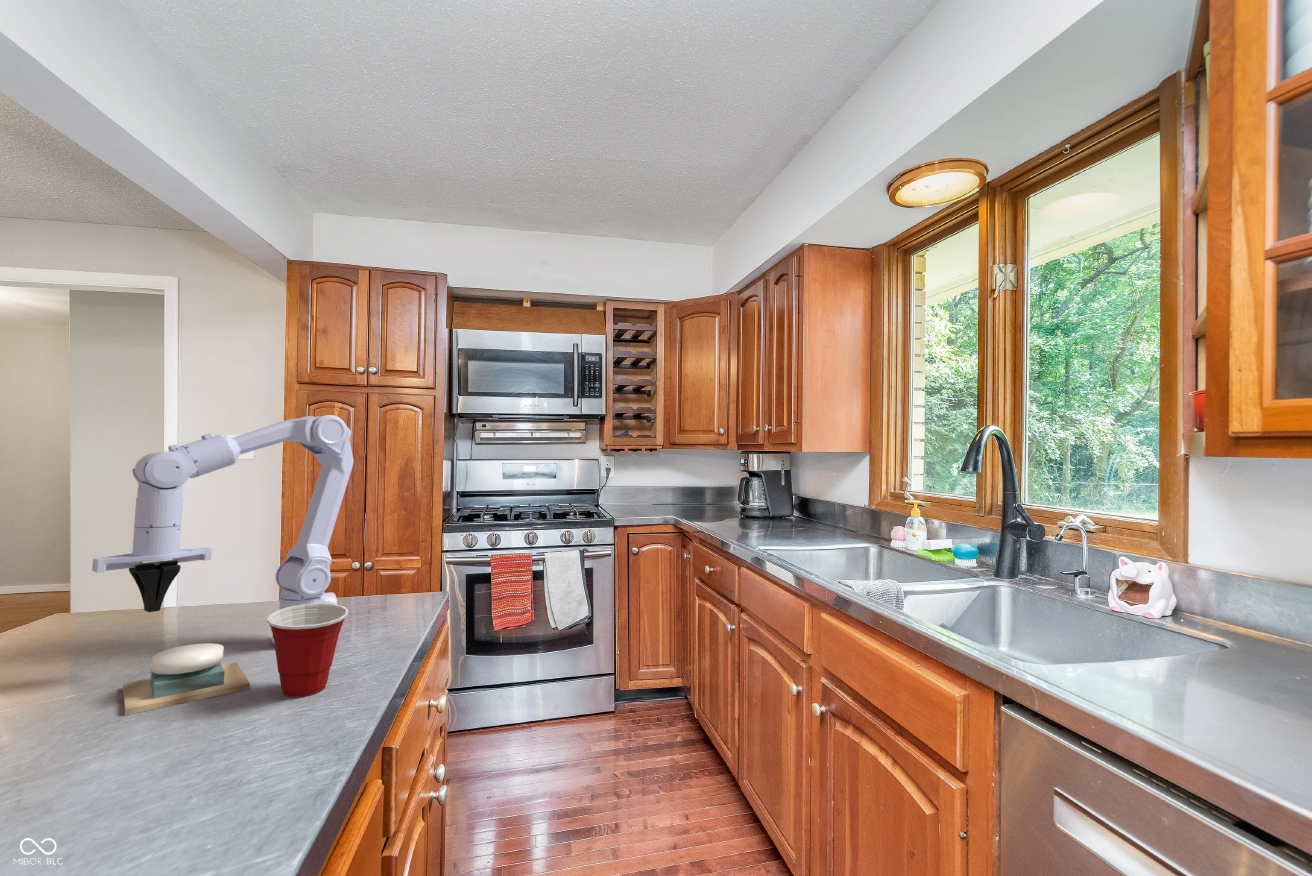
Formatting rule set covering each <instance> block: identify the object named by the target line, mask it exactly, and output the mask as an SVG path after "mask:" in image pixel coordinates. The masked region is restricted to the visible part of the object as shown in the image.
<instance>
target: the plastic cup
mask: <svg viewBox="0 0 1312 876" xmlns="http://www.w3.org/2000/svg"><path fill="white" fill-rule="evenodd" d="M348 615H349V609H348V608H347V607H345V606H343V605H340V604H337V605H336V604H325V603H316V604H303V605H297V606H290V607H287V608H283V609H280V610H279V609H277V610H275V611H273V612H272V613H270V614H268V616H267V618H266V622H267V623H268V624H269V627H270V631H271V633H272V638H274V643H273V645H274V644H275V645H274V649H275V650H274V651H275V656H276V657H275V658H276V664H277V673H278V675H279V682H280V690H281V693H282V695H283V696H284V697H287V698H288V697H289V698H301V697H307V696H311V695H316V694H318V693H320V692H322V691H324V690H325V689H326V687H327V686H326V685H327V684H328V680H329V675H330V670H331V667H332V665H333V660H334V657H335V652H336V649H337V648H336V647H337V644H338V639H339V635H340V633H341V631H342V626H343V625H344V621H345V619H346V618H347V617H348Z"/></svg>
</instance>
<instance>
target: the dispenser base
mask: <svg viewBox="0 0 1312 876" xmlns="http://www.w3.org/2000/svg"><path fill="white" fill-rule="evenodd" d="M250 689H251V682H250V681H249V679H248V678H247V676H246V675H245V673H244V672H243V669H242V668H241V667H240V665H239V664H238V662H231V663H225V664H221V662H220V663H218V664H216V665H214V666H212V667H209V668H206V669H202V670H198V671H193V672H188V673H181V674H156V673H153V672H152V668H151V669H150V678H149V677H148V678H143V679H139V680H133V681H129V682H127V681H126V682H123V683H122V697H123V708H124V716H128V715H134V714H137V713H141V712H147V711H153V710H156V709H157V710H158V709H161V708H166V707H169V706H174V705H179V704H180V705H181V704H184V703H189V702H193V701H194V702H195V701H199V700H205V699H209V698H212V697H216V696H217V697H218V696H222V695H227V694H230V693H236V692H240V691H245V690H250Z"/></svg>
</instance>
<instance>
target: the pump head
mask: <svg viewBox="0 0 1312 876" xmlns="http://www.w3.org/2000/svg"><path fill="white" fill-rule="evenodd" d="M224 650H225V649H224V646H223V645H222V644H219V643H210V642H209V643H195V644H187V645H181V646H175V647H171V648H168V649H165V650H162V651H158V652H157V653H156V654H153V656H152V658H151V659H152V660H151V669H152V672H153V673H156V674H181V673H188V672H193V671H198V670H202V669H206V668H209V667H212V666H214V665H216V664H218V663H220V664H221V662H223V660H224Z"/></svg>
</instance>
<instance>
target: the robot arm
mask: <svg viewBox="0 0 1312 876" xmlns="http://www.w3.org/2000/svg"><path fill="white" fill-rule="evenodd" d="M351 436H352V431H351V429H350V428H349V427H348V426H347V424H346V423H345V421H344V420H343V419H342V418H341V417H339V416H337V415H333V414H326V415H321V416H320V415H318V416H312V415H307V416H303V417H301V418H300V417H298V418H292V419H286V420H282V421H278V422H275V423H273V424H269V425H267V426H266V425H265V426H264V427H261V428H258V429H255V430H253V431H249V432H246V433H244V434H239V435H237V436H234V437H231V438H230V437H227V436H225V435H222V434H216V435H214V434H213V433H206V434H203V435H201V436H200V437H201V439H199V440H196V441H192V442H189V443H188V442H187V443H185V444H183V445H182V444H181V445H179V446H178V444H171V445H168V447H167V448H168V451H167V450H166V451H163V452H161V451H160V452H151V453H148V454H145V455H143V456H142V457H141V458H140V459H139V460H137V462H136V464H135V466H134V468H132V469H131V470H132V471H131V472H132V476H133V478H134V479H135V481H136V482H138V483H137V484H138V485H137V497H136V498H135V511H134V523H133V539H132V540H133V541H132V553H125V554H118V555H111V556H104V557H95V558H94V557H93V558H92V568H91V571H92V572H94V573H105V572H107V571H114V570H115V571H116V570H124V569H128V570H129V574H130V575H131V576H132V578H133V580H134V582H135V583H136V586H137V588H138V590H139V593H140V595H141V598H142V603H143V610H144V612H147V613H154V612H159V611H161V608H162V604H163V601H164V599H165V597H166V594H167V593H168V590H169V588H170V586H171V584H172V583H173V581H174V580H175V578H176V577H177V576H178V574H179V573H180V571H181V567H182V566H181V565H180V563H187V562H197V561H211V560H212V551H213V549H212V548H209V547H200V548H199V547H197V548H196V547H195V548H182V549H180V547H181V546H180V545H181V532H182V531H181V530H182V529H181V528H182V516H183V515H182V514H183V513H182V512H183V500H184V499H183V490H184V489H183V488H184V485H185V484H186V482H187V481H188V480H189V479H195V478H197V477H201V476H203V475H206V474H210V473H213V472H216V471H217V470H218V471H219V470H220V469H225V468H227V467H231V466H233V465H235V463H236V462H237V460H238V459H239V457H240V455H243V454H247V453H249V452H253V451H256V450H260V449H264V448H266V447H270V446H274V445H276V444H280V443H282V442H283V443H284V442H287V443H288V442H289V443H298V444H299V445H300V446H301V447H303V448H305V450H307V451H308V452H310V453H312V455H313V456H314V457H315V458H316V460H317V461H318V462H319V464H320V466H321V467H320V470H319V472H318V473H319V474H318V477H317V479H316V484H315V486H314V489H313V493H312V496H311V498H310V501H309V504H308V508H307V511H306V514H305V517H304V519H303V523H302V526H301V530H300V533H299V534H298V535H299V536H298V539H297V542H296V543H295V545H293V547H292V548H290V550H289V551H288V552H287V555H286V557H285V559H284V560H283V562H282V563H281V564H280V565H279V567H278V568H277V570H276V572H275V575H274V576H275V577H274V578H275V582H276V584H277V585H278V586H279V588H281V592H280V594H279V606H278V607H279V609H278V610H280V609H283V608H287V607H290V606H297V605H303V604H316V603H325V604H336V605H338V600H337V596H336V594H335V592H333V591H332V592H331V591H330V592H326V590H327V588H328V587H329V585H330V583H331V579H332V574H331V564H332V556H331V553H330V550H329V544H330V542H331V538H332V535H333V530H334V528H335V525H336V522H337V519H338V515H339V512H340V508H341V506H342V502H343V498H344V496H345V493H346V489H347V486H348V483H349V479H350V476H351V472H352V470H353V466H354V456H353V451H352V445H351V440H350V439H351ZM178 563H179V564H178ZM270 641H271V642H272V643H273V645H274V646H275V644H274V638H273V637H272V638H271V639H270Z"/></svg>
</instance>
